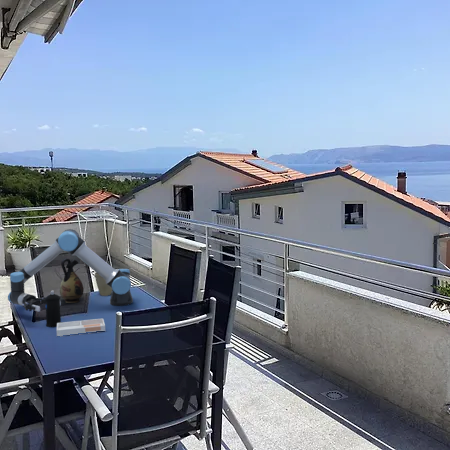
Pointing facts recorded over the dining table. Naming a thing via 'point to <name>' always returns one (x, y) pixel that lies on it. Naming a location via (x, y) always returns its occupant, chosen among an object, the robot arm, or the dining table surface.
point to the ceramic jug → (70, 283)
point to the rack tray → (80, 327)
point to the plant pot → (102, 285)
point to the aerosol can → (52, 310)
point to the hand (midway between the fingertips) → (50, 306)
